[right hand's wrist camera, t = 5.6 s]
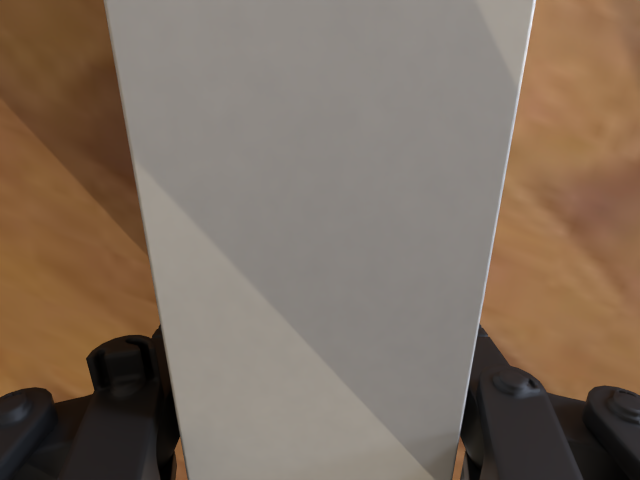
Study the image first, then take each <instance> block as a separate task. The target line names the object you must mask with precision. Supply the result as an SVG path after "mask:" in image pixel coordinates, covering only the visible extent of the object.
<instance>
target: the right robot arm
mask: <svg viewBox="0 0 640 480" xmlns="http://www.w3.org/2000/svg"><path fill="white" fill-rule="evenodd" d="M86 360H87V364H88V368H89V371H90V375H91V379H92V383H93V386H94V390H95V391H94V393H93V394H91V395H88V396H84V397H80V398H76V399H71V400H67V401H62V402H58V403H54V401H53V398H52V395H51V393H50V392H49V391H47V390H46V389H43V388H37V387H34V388H26V389H21V390H18V391H15V392H11V393H8V394H6V395H4V396H2V397H0V480H175V478H176V469H177V463H176V456H175V451H174V449H175V447H176V445H177V442H178V440H179V437H180V432H179V426H178V420H177V415H176V409H175V403H174V398H173V392H172V386H171V381H170V375H169V369H168V364H167V358H166V352H165V347H164V341H163V335H162V329H161V324H160V326H159V329H157V330H156V331H155V333H154V334H153V336H152V338H149V337H146V336H142V335H127V336H123V337H119V338H115V339H112V340H110V341H108V342H105V343H103V344H101V345H100V346H98V347H97V348H96V349H94V350H93V351H92V352H91V353H90V354H89V355H88V357H87V358H86ZM460 436H461V439H462V441H463V443H464V446H465V448H466V451H465V456H464V461H463V467H462V472H461V477H460V480H640V395H638V394H636V393H634V392H631V391H628V390H625V389H622V388H619V387H611V386H599V387H594V388H593V389H592V390H591V391H590V392H589V394H588V397H587V400H586V402H585V401H580V400H576V399H571V398H567V397H562V396H558V395H554V394H551V393H547V392H546V390H545V388H544V387H543V386H542V384H541V383H540V381H538V380H537V379H536V378H535V377H533V376H532V375H531V374H529V373H527V372H525V371H523V370H521V369H519V368H516V367H512V366H510V365H509V364H508V362H507V361H506V359H505V358H504V357H503V355H502V354H501V352H500V351H499V350H498V348H497V347H496V346H495V344H494V343H493V341H492V340H491V339H490V337H488V334H487V333H486V332H485V330H484V329H483V328H481V325H480V323H479V328H478V334H477V340H476V345H475V351H474V357H473V362H472V368H471V374H470V380H469V385H468V391H467V397H466V402H465V408H464V414H463V419H462V425H461V431H460Z"/></svg>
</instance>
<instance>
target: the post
mask: <svg viewBox="0 0 640 480" xmlns="http://www.w3.org/2000/svg"><path fill="white" fill-rule="evenodd" d="M535 3H536V0H104V5H105V11H106V17H107V22H108V28H109V34H110V39H111V45H112V51H113V56H114V62H115V68H116V74H117V79H118V85H119V91H120V96H121V102H122V108H123V113H124V119H125V125H126V130H127V136H128V142H129V147H130V153H131V159H132V165H133V170H134V176H135V182H136V187H137V193H138V199H139V204H140V210H141V216H142V221H143V227H144V233H145V238H146V244H147V250H148V256H149V261H150V267H151V273H152V278H153V284H154V290H155V295H156V301H157V307H158V312H159V318H160V324H161V329H162V335H163V341H164V347H165V352H166V358H167V364H168V369H169V375H170V381H171V386H172V392H173V398H174V403H175V409H176V415H177V420H178V426H179V432H180V438H181V443H182V449H183V455H184V460H185V466H186V472H187V477H188V480H452V476H453V471H454V465H455V459H456V454H457V448H458V442H459V437H460V431H461V425H462V419H463V414H464V408H465V402H466V397H467V391H468V385H469V380H470V374H471V368H472V362H473V357H474V351H475V345H476V340H477V334H478V328H479V323H480V317H481V311H482V305H483V300H484V294H485V288H486V283H487V277H488V271H489V266H490V260H491V254H492V248H493V243H494V237H495V231H496V226H497V220H498V214H499V209H500V203H501V197H502V191H503V186H504V180H505V174H506V169H507V163H508V157H509V151H510V146H511V140H512V134H513V129H514V123H515V117H516V112H517V106H518V100H519V94H520V89H521V83H522V77H523V72H524V66H525V60H526V55H527V49H528V43H529V37H530V32H531V26H532V20H533V15H534V9H535Z"/></svg>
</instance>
